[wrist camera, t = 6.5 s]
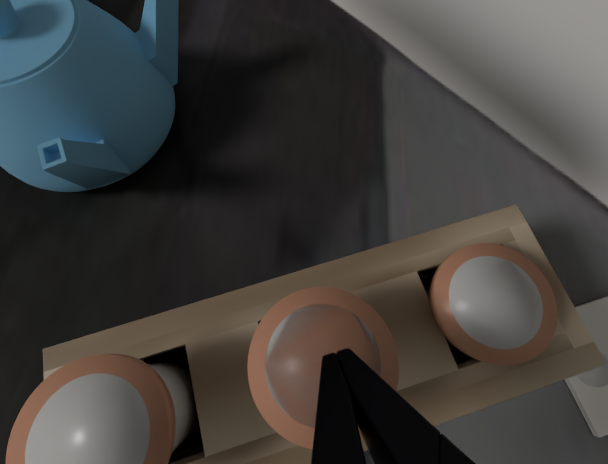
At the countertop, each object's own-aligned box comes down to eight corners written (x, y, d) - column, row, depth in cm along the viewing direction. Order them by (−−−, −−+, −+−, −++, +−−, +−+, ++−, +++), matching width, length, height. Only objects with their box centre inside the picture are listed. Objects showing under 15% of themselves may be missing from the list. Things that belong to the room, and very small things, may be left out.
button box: (510, 355, 21) (606, 364, 14) (142, 482, 19) (51, 563, 12) (456, 242, 23) (516, 204, 16) (126, 345, 21) (42, 349, 15)
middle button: (387, 393, 15) (423, 419, 10) (282, 429, 15) (269, 474, 10) (350, 288, 17) (367, 269, 12) (254, 318, 16) (232, 311, 12)
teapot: (68, 39, 30) (-58, -115, 20) (216, 73, 28) (164, -76, 18) (-28, 180, 25) (-255, 74, 15) (143, 228, 24) (18, 147, 14)
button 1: (509, 341, 18) (581, 342, 13) (424, 369, 18) (467, 382, 13) (468, 255, 20) (519, 229, 15) (389, 280, 19) (416, 261, 14)
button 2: (222, 450, 14) (181, 506, 10) (108, 490, 14) (5, 567, 9) (200, 335, 16) (155, 334, 11) (97, 368, 16) (4, 381, 11)
